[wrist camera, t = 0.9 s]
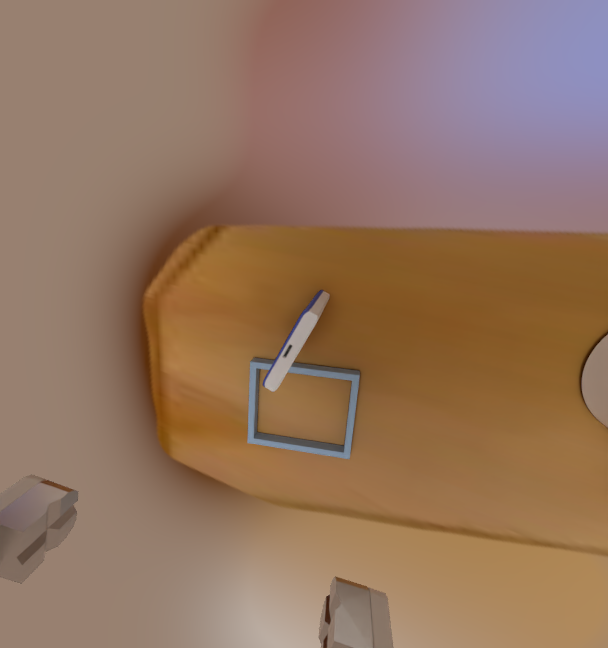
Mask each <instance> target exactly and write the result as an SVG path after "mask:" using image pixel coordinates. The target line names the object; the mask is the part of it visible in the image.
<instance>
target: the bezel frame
mask: <svg viewBox="0 0 608 648" xmlns="http://www.w3.org/2000/svg"><path fill="white" fill-rule="evenodd" d="M274 361H275V360H269V359H261V358H253V359H252V360H251V361H250V387H249V417H248V443H252V444H258V445H264V446H271V447H277V448H283V449H289V450H296V451H302V452H308V453H314V454H320V455H327V456H333V457H339V458H345V459H350V451H351V443H352V435H353V427H354V419H355V410H356V402H357V394H358V386H359V378H360V371H358V370H350V369H342V368H333V367H325V366H317V365H309V364H301V363H292V365H291V367H290V369H289V370H288V372H289V373H296V374H304V375H312V376H320V377H327V378H335V379H343V380H351V381H352V384H351V393H350V401H349V410H348V419H347V427H346V436H345V444H344V446H342V445H336V444H329V443H323V442H316V441H310V440H304V439H297V438H291V437H284V436H278V435H271V434H265V433H259V432H257V418H258V393H259V369H265V370H270V368H271V366H272V364H273V362H274Z"/></svg>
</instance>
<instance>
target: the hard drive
mask: <svg viewBox="0 0 608 648" xmlns="http://www.w3.org/2000/svg"><path fill="white" fill-rule="evenodd" d="M329 297H330V294H328V293H327V292H325V291H323V290H320V291H319V292H318V293H317V294H316V296H315V297H314V298H313V300H312V301H311V302H310V303H309V305H308V306H307V307H306V309H305V310H304V311H303V312H302V314H301V315H300V317H299V319H298V320H297V322H296V324H295V326H294V327H293V329H292V331H291V333H290V334H289V336H288V338H287V340H286V341H285V343H284V345H283V347H282V349H281V350H280V352H279V354H278V356H277V357H276V359H275V361H274V362H273V364H272V366H271V368H270V370H269V371H268V373H267V375H266V377H265V379H264V381H263V386H264V387H265V388H267V389H269V390H271V391H272V392H274V391H275V390H277V389H278V387H279V386H280V384H281V382H282V380H283V379H284V377H285V375H286V374H287V372H288V370H289V369H290V367H291V365H292V363H293V362H294V360H295V358H296V357H297V355H298V353H299V352H300V350H301V348H302V347H303V345H304V343H305V342H306V340H307V338H308V337H309V335H310V333H311V331H312V330H313V328H314V326H315V325H316V323H317V321H318V320H319V318H320V316H321V314H322V312H323V310H324V308H325V306H326V304H327V302H328V300H329Z"/></svg>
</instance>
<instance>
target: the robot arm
mask: <svg viewBox="0 0 608 648" xmlns="http://www.w3.org/2000/svg"><path fill="white" fill-rule="evenodd" d="M582 393H583V397H584V400H585V403H586V405H587V407H588V408H589V410H590V411H591V413H592V414H593V415H594V416H595V417H596V418H597V419H598V420H599V421H600V422H601V423H602V424H604V425H605V426H606V427H607V428H608V335H606V336H605V337H604V338H603V339H602V340H601V341H600V342H599V343H598V345H597V346H596V347H595V348H594V350H593V351H592V353H591V354H590V356H589V358H588V360H587V362H586V364H585V367H584V371H583V375H582ZM77 501H78V491H76V490H73V489H70V488H68V487H65V486H62V485H60V484H57V483H54V482H52V481H49V480H46V479H43V478H40V477H38V476H35V475H29V476H26V477H24V478H22V479H21V480H19V481H18V482H17V483H15V484H14V485H12V486H11V487H9V488H8V489H7V490H5V491H4V492H3V493H1V494H0V577H2V578H5V579H8V580H11V581H14V582H18V583H22V582H24V581H25V579H26V578H27V577H28V576H29V575H30V574H31V573H32V572H33V571H34V570H35V569H36V568H37V567H38V566H39V565H40V564H41V563H42V562H43V561H44V558H45V554H46V552H47V551H49V550H51V549H53V548H55V547H57V546H58V545H60V543H61V542H62V541H63V540H64V539H65V538H66V537H67V535H68V534H69V532H70V531H71V529H72V528H73V526H74V523H75V521H76V516H77V511H76V509H75V508H74V505H73V504H74V503H75V502H77ZM319 639H320V642H321V644H322V646H321V648H393V641H392V632H391V625H390V616H389V606H388V598H387V596H386V594H385V593H383V592H380V591H377V590H374V589H371V588H368V587H367V586H364V585H361V584H357V583H354V582H351V581H348V580H345V579H342V578H338V577H334V578H333V580H332V583H331V586H330V595H328V596H327V597H326V600H325V602H324V605H323V610H322V615H321V621H320V629H319Z"/></svg>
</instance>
